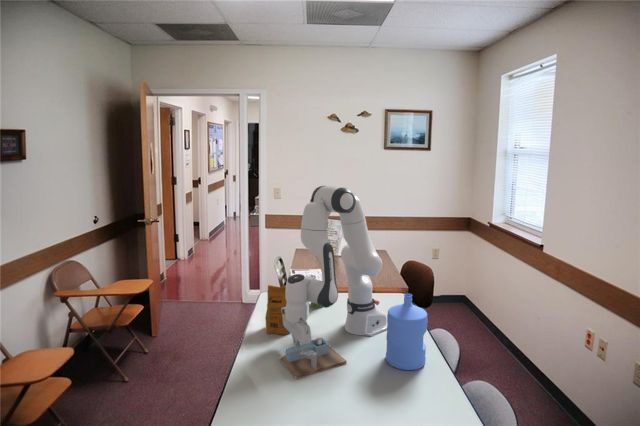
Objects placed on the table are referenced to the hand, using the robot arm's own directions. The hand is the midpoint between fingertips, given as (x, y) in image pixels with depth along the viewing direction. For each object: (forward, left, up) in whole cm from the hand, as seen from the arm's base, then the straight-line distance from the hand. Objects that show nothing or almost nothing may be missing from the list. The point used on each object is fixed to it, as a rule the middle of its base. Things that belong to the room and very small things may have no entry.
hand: (296, 345), depth 179 cm
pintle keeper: (-2, +11, -2) cm, 11 cm away
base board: (-3, +10, -3) cm, 11 cm away
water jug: (-36, +27, -3) cm, 45 cm away
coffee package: (-2, -22, -3) cm, 22 cm away
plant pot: (-32, -39, -3) cm, 50 cm away
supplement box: (-16, -28, -3) cm, 32 cm away
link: (-2, +6, -2) cm, 6 cm away
